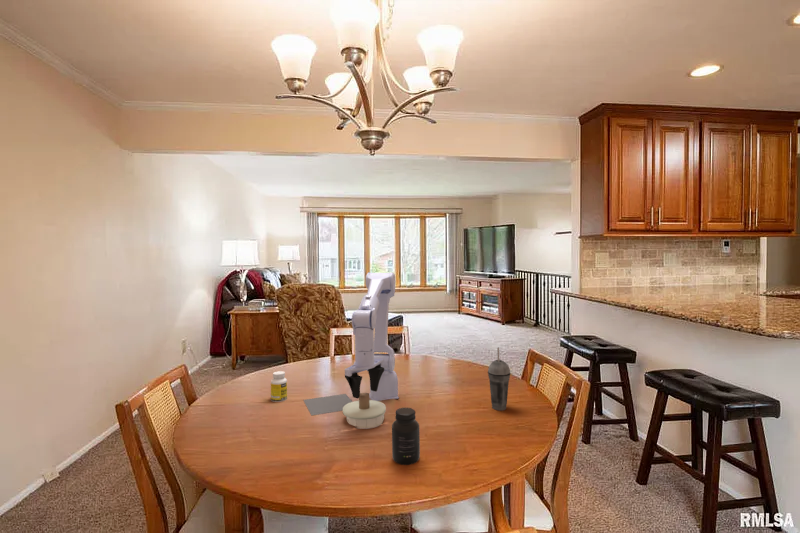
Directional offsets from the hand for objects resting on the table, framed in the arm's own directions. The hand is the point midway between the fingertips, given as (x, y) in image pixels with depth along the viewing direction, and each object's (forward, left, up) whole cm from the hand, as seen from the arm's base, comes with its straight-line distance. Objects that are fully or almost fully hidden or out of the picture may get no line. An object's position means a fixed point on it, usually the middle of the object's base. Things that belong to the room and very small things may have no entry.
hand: (365, 394), depth 124 cm
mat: (+7, -17, -8) cm, 20 cm away
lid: (0, 0, -5) cm, 5 cm away
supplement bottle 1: (+22, -29, -8) cm, 37 cm away
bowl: (0, 0, -8) cm, 8 cm away
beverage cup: (-43, +8, -8) cm, 45 cm away
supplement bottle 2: (-2, +26, -8) cm, 27 cm away
